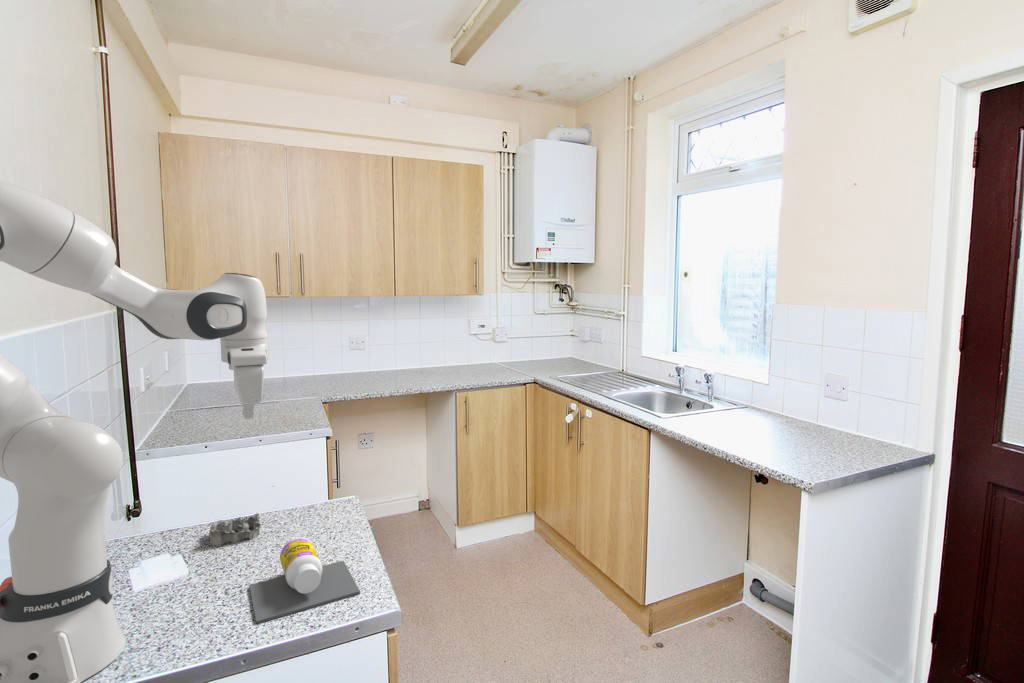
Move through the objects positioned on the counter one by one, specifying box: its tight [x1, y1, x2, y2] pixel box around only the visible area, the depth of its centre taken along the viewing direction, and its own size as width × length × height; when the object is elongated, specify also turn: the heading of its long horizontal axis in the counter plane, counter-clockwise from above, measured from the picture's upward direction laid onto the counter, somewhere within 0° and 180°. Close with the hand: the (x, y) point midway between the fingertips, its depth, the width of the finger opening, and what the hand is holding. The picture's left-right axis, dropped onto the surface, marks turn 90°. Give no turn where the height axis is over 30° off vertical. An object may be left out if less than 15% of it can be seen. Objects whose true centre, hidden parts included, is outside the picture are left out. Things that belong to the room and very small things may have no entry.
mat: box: [249, 560, 361, 625], centre depth 101 cm, size 18×13×1 cm
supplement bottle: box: [279, 536, 323, 594], centre depth 103 cm, size 7×7×13 cm
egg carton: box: [208, 513, 261, 547], centre depth 123 cm, size 11×8×4 cm
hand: (248, 417), depth 110 cm, fingers closed
